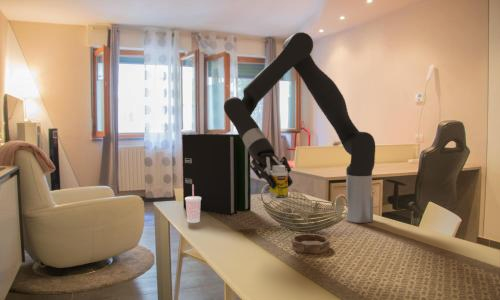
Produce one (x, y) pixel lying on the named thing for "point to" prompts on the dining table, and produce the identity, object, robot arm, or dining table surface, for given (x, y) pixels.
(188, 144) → the binder
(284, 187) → the supplement bottle
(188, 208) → the beverage cup
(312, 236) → the collar dish
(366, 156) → the robot arm
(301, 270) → the dining table surface
